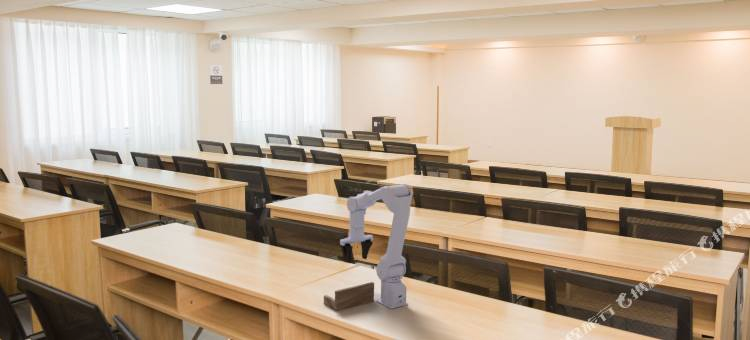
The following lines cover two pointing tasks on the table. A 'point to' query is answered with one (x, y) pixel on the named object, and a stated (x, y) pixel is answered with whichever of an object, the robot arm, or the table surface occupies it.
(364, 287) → the book rack
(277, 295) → the table surface
